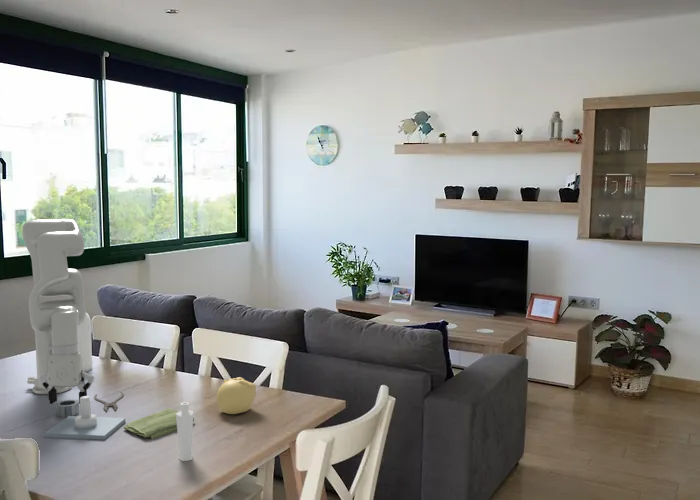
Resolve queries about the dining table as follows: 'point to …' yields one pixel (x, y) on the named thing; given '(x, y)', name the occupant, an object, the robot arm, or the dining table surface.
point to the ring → (67, 408)
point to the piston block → (85, 425)
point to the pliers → (107, 405)
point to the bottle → (85, 343)
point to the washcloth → (154, 424)
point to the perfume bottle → (185, 432)
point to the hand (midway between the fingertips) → (68, 402)
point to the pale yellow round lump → (235, 395)
